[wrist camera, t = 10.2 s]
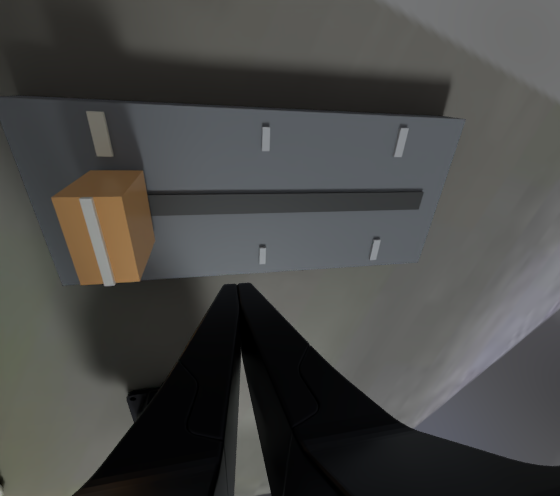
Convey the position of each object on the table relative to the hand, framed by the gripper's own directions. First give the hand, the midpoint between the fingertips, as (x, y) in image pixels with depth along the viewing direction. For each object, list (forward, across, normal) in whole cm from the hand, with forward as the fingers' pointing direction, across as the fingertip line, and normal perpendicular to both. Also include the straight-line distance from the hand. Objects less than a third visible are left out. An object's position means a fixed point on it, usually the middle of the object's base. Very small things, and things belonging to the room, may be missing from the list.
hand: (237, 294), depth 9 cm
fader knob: (+8, +5, 0) cm, 10 cm away
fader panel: (+11, -2, 0) cm, 11 cm away
